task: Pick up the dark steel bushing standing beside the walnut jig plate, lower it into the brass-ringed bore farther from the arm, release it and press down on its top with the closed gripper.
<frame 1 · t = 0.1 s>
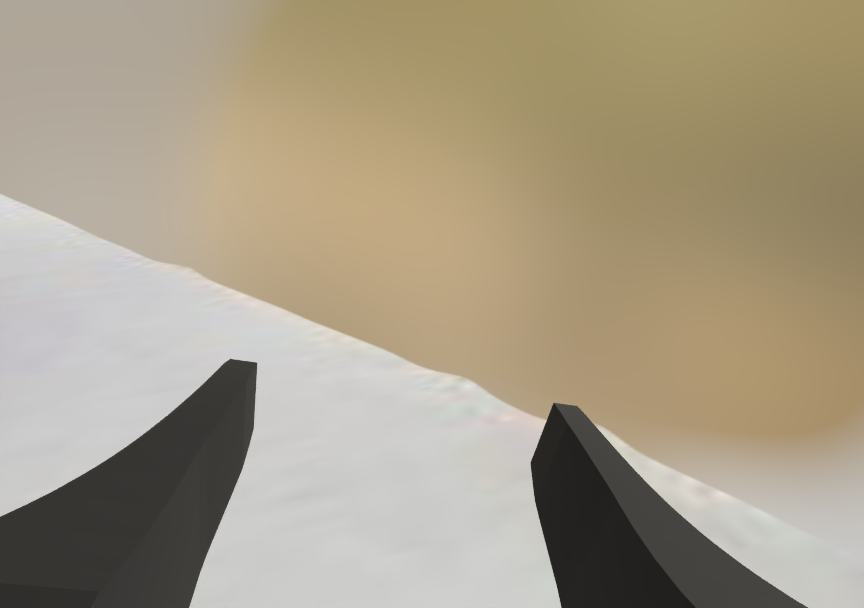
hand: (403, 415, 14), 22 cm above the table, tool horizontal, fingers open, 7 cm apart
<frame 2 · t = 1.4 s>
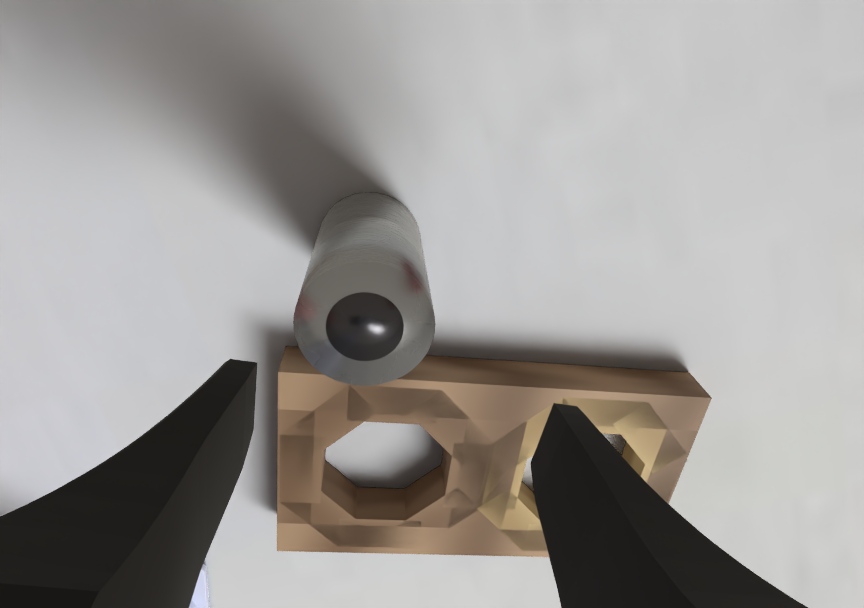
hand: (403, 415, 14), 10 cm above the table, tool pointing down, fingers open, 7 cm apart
bushing: (370, 242, 22), on the table
jig plate: (478, 447, 27), on the table
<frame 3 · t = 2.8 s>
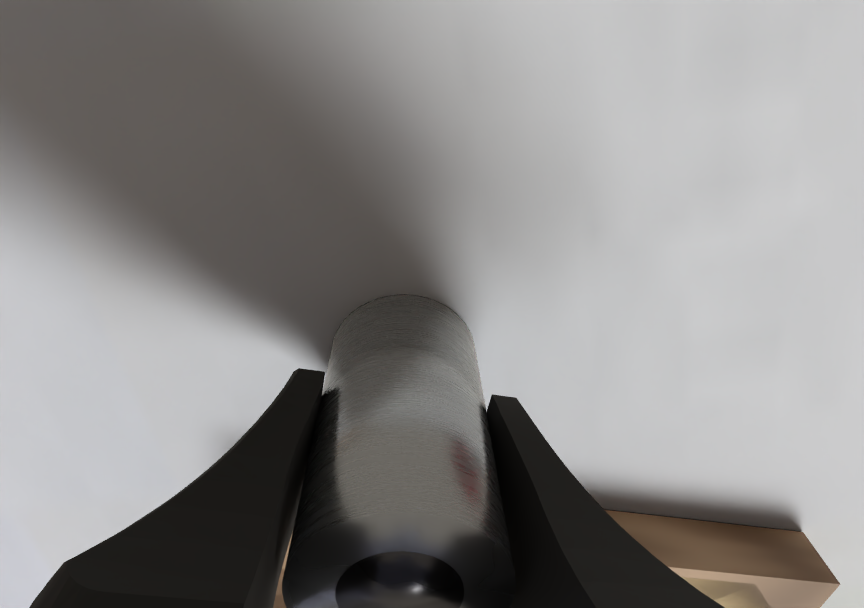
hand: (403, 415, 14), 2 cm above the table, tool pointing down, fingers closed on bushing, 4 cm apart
bushing: (403, 357, 16), on the table, touching gripper
jig plate: (516, 595, 21), on the table
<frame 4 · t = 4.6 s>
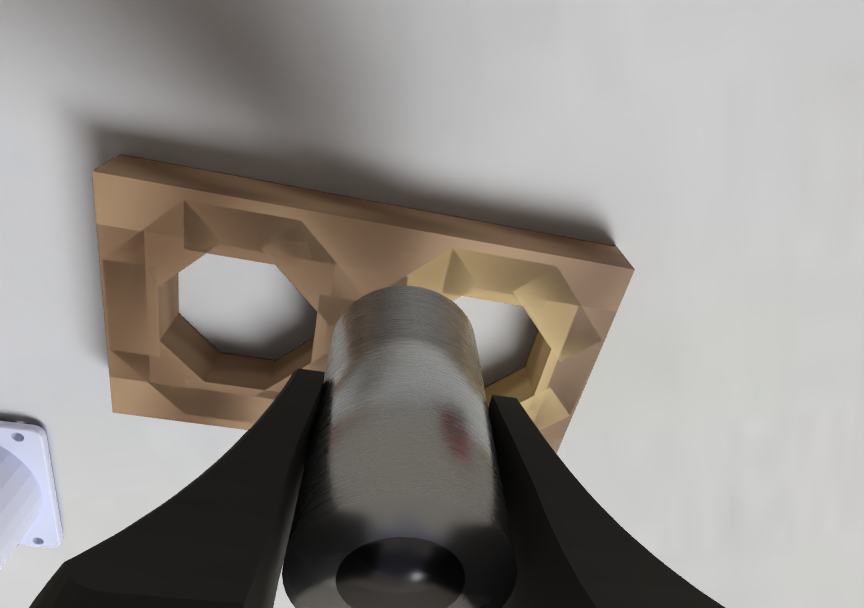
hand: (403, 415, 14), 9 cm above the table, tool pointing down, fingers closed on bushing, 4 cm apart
bushing: (404, 349, 16), point 7 cm above the table, touching gripper
jig plate: (362, 317, 23), on the table
when the fingers open (3 cm above the table, at t = 6.5 s): bushing stays where it is, resting in jig plate.
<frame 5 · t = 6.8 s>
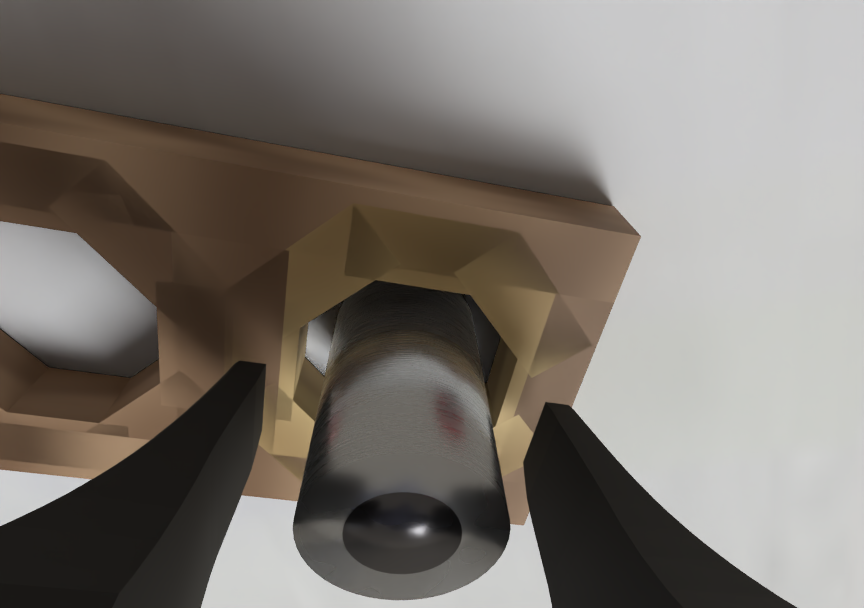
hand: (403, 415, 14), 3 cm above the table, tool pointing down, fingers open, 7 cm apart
bushing: (405, 331, 17), resting in jig plate
jig plate: (247, 315, 16), on the table
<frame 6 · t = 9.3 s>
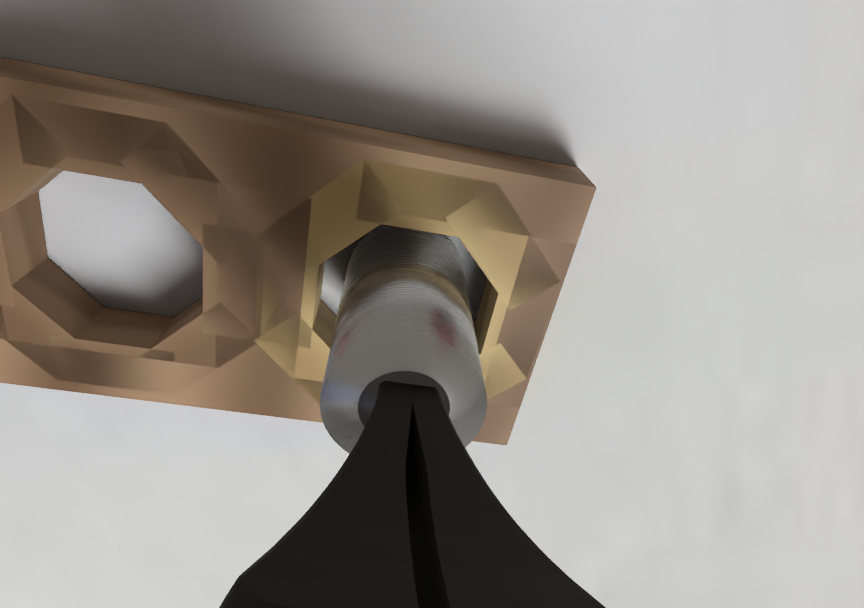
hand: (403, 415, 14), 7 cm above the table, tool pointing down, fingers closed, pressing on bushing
bushing: (405, 275, 20), resting in jig plate, touching gripper
jig plate: (273, 261, 19), on the table
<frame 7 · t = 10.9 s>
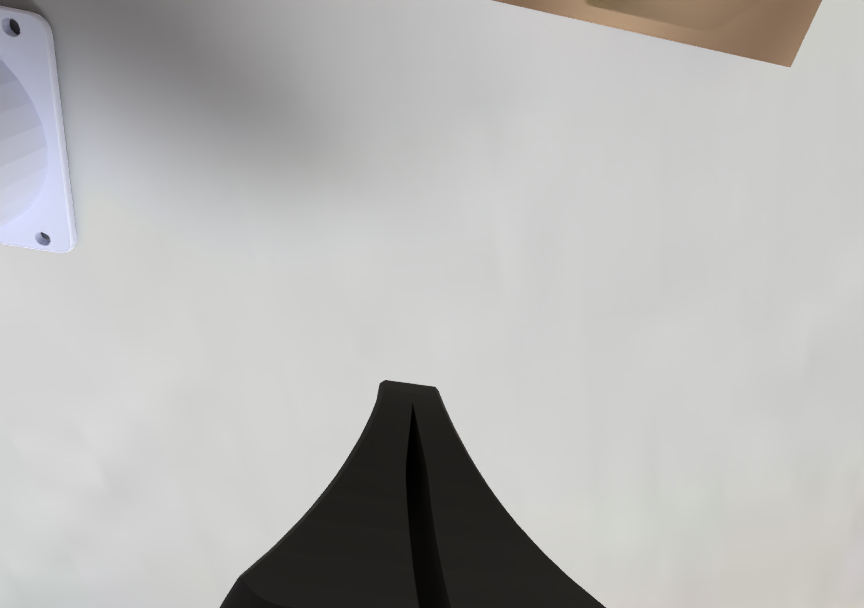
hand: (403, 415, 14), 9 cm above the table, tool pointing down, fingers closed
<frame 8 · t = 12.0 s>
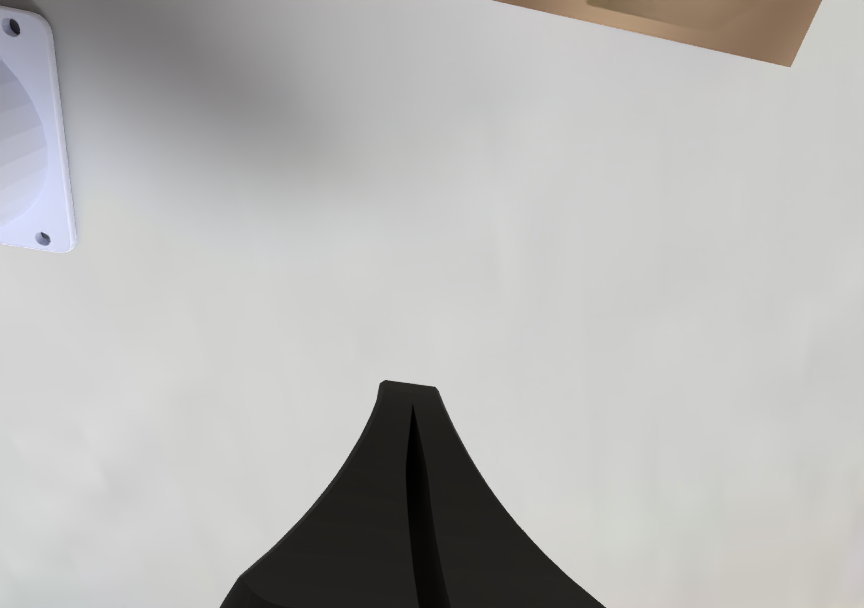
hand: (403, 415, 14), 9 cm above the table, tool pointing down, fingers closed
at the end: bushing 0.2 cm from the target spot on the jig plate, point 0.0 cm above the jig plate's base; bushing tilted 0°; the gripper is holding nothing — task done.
